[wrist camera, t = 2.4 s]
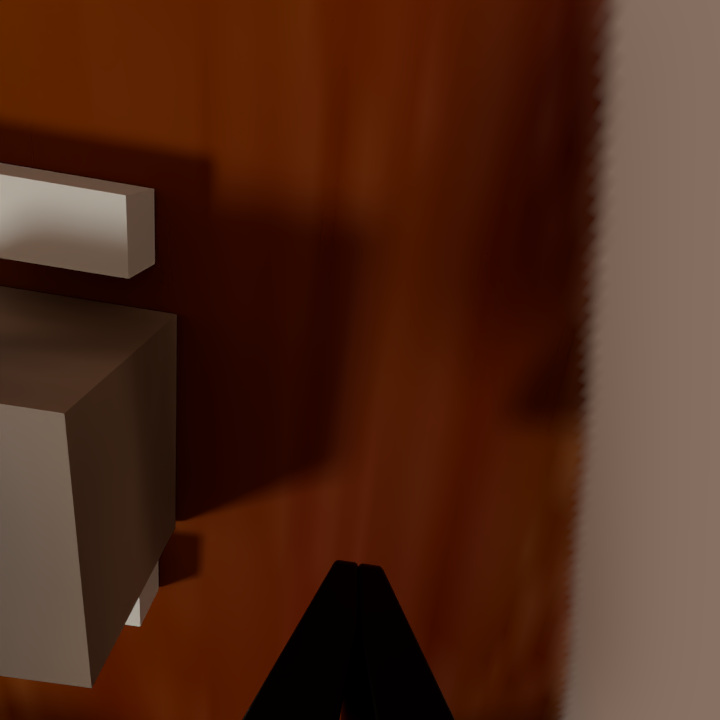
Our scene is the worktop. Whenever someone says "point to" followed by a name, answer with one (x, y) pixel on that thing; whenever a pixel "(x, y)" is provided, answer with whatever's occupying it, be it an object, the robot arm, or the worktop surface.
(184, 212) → the worktop surface
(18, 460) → the rider
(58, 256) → the beam slot
